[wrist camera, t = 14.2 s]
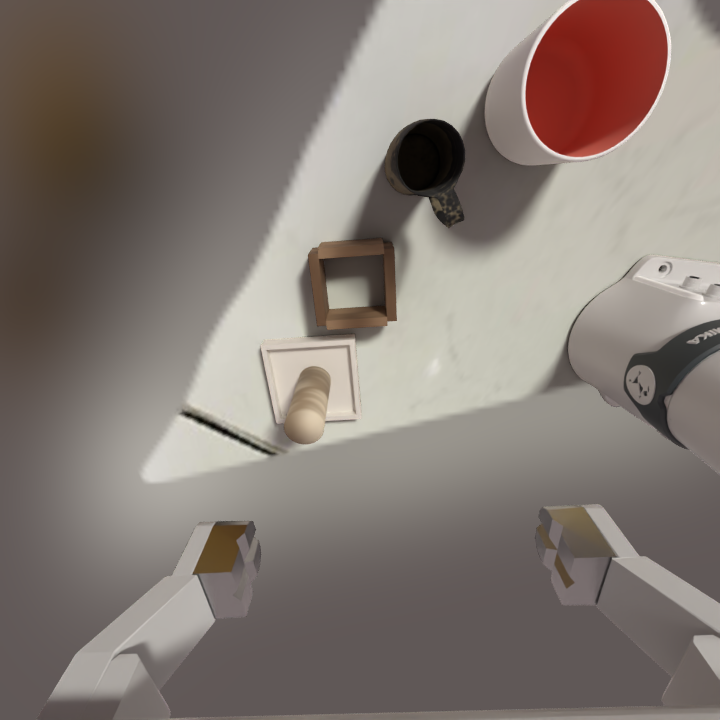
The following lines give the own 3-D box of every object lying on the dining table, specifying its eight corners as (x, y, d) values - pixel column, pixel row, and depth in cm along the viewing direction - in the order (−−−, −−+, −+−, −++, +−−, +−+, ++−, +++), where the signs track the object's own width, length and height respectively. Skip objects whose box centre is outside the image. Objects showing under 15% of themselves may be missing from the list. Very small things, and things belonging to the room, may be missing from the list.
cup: (580, 161, 37) (651, 155, 28) (477, 170, 37) (514, 167, 28) (600, 30, 32) (691, -27, 23) (483, 43, 33) (529, -9, 24)
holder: (391, 237, 40) (394, 242, 36) (394, 313, 44) (396, 325, 40) (312, 243, 40) (307, 249, 37) (321, 318, 44) (317, 330, 40)
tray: (354, 333, 45) (354, 339, 43) (361, 411, 50) (361, 418, 48) (264, 339, 45) (260, 345, 44) (279, 415, 50) (276, 423, 48)
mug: (373, 149, 36) (378, 137, 26) (426, 118, 35) (453, 91, 24) (408, 225, 39) (425, 243, 29) (457, 199, 38) (494, 207, 27)
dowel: (329, 365, 46) (321, 410, 37) (332, 393, 47) (325, 443, 38) (296, 367, 46) (281, 412, 37) (301, 395, 48) (287, 445, 39)
